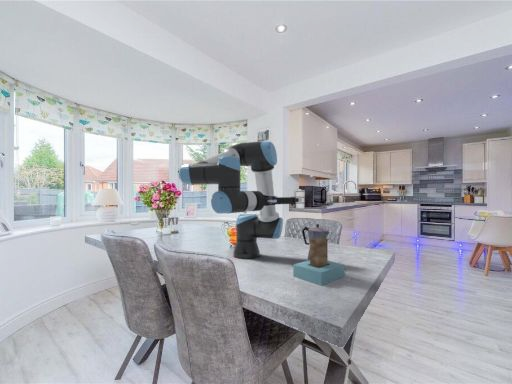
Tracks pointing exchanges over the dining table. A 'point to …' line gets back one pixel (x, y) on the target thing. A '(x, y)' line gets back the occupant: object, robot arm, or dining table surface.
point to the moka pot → (314, 234)
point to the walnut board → (318, 252)
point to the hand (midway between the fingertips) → (288, 199)
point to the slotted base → (318, 272)
